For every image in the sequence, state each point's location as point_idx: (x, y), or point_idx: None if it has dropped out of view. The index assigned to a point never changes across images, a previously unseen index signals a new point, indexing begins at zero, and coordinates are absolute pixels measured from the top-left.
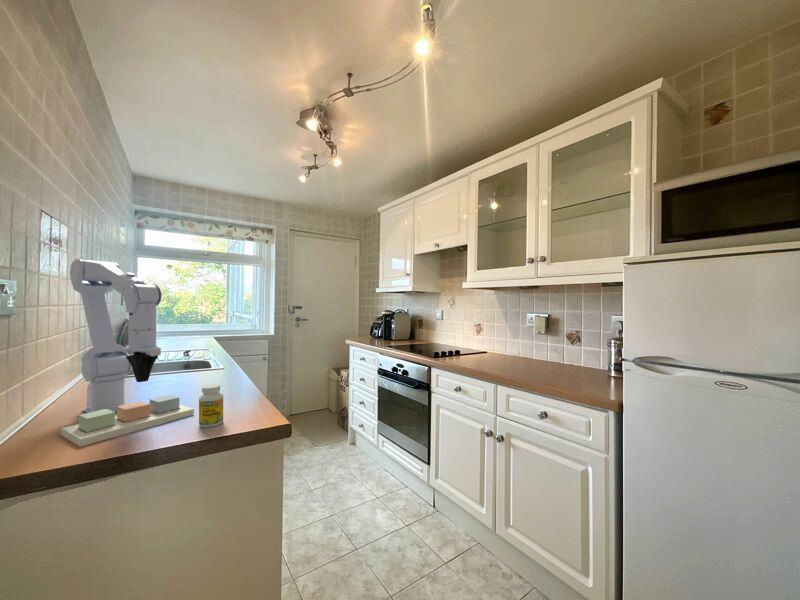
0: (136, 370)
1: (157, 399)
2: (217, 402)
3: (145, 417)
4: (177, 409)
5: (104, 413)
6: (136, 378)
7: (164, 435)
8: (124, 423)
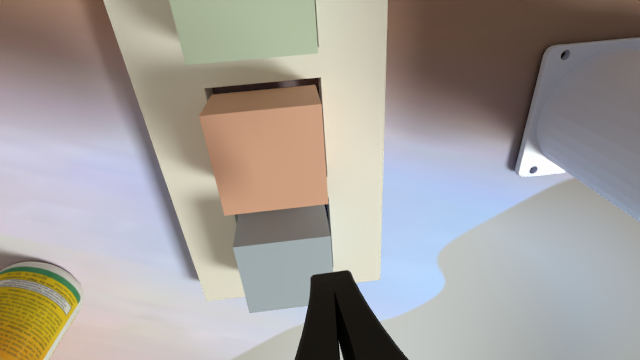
0: (312, 352)
1: (294, 255)
2: None
3: None
4: None
5: (202, 15)
6: (334, 288)
7: (4, 160)
8: (198, 87)
